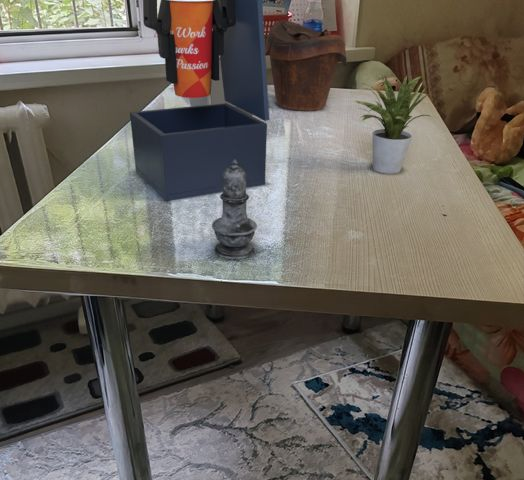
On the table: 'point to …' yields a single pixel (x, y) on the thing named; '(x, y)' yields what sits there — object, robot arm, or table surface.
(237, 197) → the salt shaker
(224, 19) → the robot arm
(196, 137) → the dark blue open box
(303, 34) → the brown bucket
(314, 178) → the table surface
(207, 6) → the paper cup
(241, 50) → the lid
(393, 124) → the house plant
